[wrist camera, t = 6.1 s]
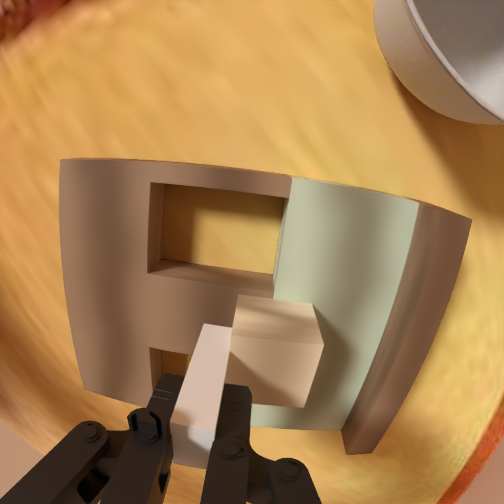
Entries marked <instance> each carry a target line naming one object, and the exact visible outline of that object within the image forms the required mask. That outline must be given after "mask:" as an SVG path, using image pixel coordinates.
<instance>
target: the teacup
mask: <svg viewBox="0 0 504 504" xmlns="http://www.w3.org/2000/svg"><path fill="white" fill-rule="evenodd" d="M374 27H375V32H376V37H377V41H378V43H379V46H380V49H381V51H382V53H383V55H384V57H385V60H386V61H387V63H388V64H389V66H390V68H391V69H392V71H393V72H394V74H395V75H396V76H397V78H398V79H399V80H400V82H401V83H402V84H403V85H404V86H405V87H406V88H407V89H408V90H409V91H410V92H411V93H412V94H413V95H414V96H415V97H416V98H417V99H419V100H420V101H421V102H422V103H424V104H425V105H426V106H428V107H429V108H431V109H433V110H434V111H436V112H438V113H440V114H442V115H444V116H446V117H449V118H452V119H455V120H458V121H462V122H467V123H474V124H487V125H504V0H375V5H374Z"/></svg>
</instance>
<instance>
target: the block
mask: <svg viewBox="0 0 504 504" xmlns="http://www.w3.org/2000/svg"><path fill="white" fill-rule="evenodd" d="M323 347H324V343H323V340H322V336H321V333H320V329H319V326H318V322H317V319H316V316H315V312H314V309H313V306H312V303H304V302H295V301H287V300H279V299H271V298H263V297H255V296H248V295H240V294H238V299H237V305H236V310H235V316H234V321H233V327H232V332H231V340H230V348H229V351H230V352H229V360H228V369H227V378H226V383H228V384H235V385H242V386H248V387H249V389H250V391H251V393H252V404H260V405H271V406H283V407H298V408H304V405H305V402H306V400H307V397H308V394H309V391H310V388H311V385H312V382H313V379H314V376H315V373H316V370H317V366H318V363H319V360H320V357H321V354H322V350H323Z"/></svg>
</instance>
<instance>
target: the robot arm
mask: <svg viewBox="0 0 504 504" xmlns="http://www.w3.org/2000/svg"><path fill="white" fill-rule="evenodd" d="M231 332H232V328H230V327H224V326H217V325H211V324H204V325H203V328H202V330H201V333H200V336H199V339H198V342H197V344H196V347H195V350H194V353H193V356H192V359H191V361H190V364H189V367H188V370H187V373H186V376H185V377H182V376H177V375H172V374H167V373H166V374H165V375H164V376H163V377H161V378H160V379H159V380H158V382H157V384H156V386H155V390H154V391H153V393H152V397H151V398H150V400H149V402H148V405H147V407H146V408H139V409H136V410H134V411H132V412H130V414H129V415H128V416H127V419H128V423H129V428H130V429H129V430H125V431H110V430H106V428H105V427H104V426H103V425H102V424H100V423H98V422H95V421H85V422H81V423H80V424H78V425H77V426H76V427H75V428H74V429H73V430H71V431H70V432H69V433H68V434H67V435H66V436H65V437H64V438H63V439H62V440H61V441H60V442H59V443H58V444H57V445H56V446H55V447H54V448H53V449H52V450H51V451H50V452H49V453H48V454H47V455H46V456H45V457H44V458H43V459H41V460H40V461H39V462H38V463H37V464H36V465H35V466H34V467H33V468H32V469H31V470H30V471H29V472H28V473H27V474H26V475H25V476H24V477H23V478H22V479H21V480H20V481H19V482H18V483H16V485H15V486H14V487H12V488H11V489H10V490H9V491H8V492H7V493H6V494H5V495H4V496H3V497H2V498H1V499H0V504H98V502H99V501H100V500H101V501H100V504H163V501H164V497H165V493H166V490H167V486H168V482H169V479H170V475H171V469H170V466H171V463H172V459H173V463H176V464H180V465H185V466H190V467H196V468H201V469H207V470H206V476H205V481H204V486H203V492H202V497H201V502H200V504H246V501H247V502H249V503H252V504H322V503H321V501H320V498H319V496H318V494H317V491H316V489H315V486H314V484H313V481H312V479H311V476H310V474H309V471H308V469H307V468H306V466H305V465H304V464H303V463H302V462H300V461H299V460H296V459H293V458H282V459H278V460H276V461H273V460H270V459H267V458H264V457H262V456H260V455H258V454H257V453H256V452H255V451H254V450H253V449H252V448H251V445H250V441H249V438H250V423H251V408H252V393H251V391H250V389H249V387H248V386H242V385H235V384H228V383H226V378H227V369H228V360H229V352H230V351H229V348H230V340H231Z"/></svg>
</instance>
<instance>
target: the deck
mask: <svg viewBox="0 0 504 504" xmlns="http://www.w3.org/2000/svg"><path fill="white" fill-rule="evenodd" d="M165 183H166V184H177V185H187V186H197V187H206V188H215V189H223V190H232V191H240V192H248V193H255V194H263V195H270V196H277V197H284V198H285V202H284V209H283V215H282V222H281V228H280V235H279V241H278V248H277V254H276V260H275V266H274V272H273V275H272V274H265V273H257V272H250V271H242V270H235V269H228V268H220V267H213V266H206V265H199V264H192V263H185V262H178V261H171V260H165V259H161V241H162V221H163V205H164V191H165ZM59 222H60V244H61V258H62V269H63V279H64V288H65V295H66V303H67V309H68V316H69V322H70V327H71V333H72V338H73V343H74V348H75V353H76V357H77V361H78V366H79V370H80V374H81V378H82V382H83V385H84V389H85V390H88V391H91V392H94V393H97V394H100V395H103V396H106V397H109V398H113V399H116V400H120V401H123V402H127V403H130V404H134V405H138V406H142V407H147V405H148V402H149V400H150V398H151V397H152V393H153V391H154V390H155V386H156V384H157V382H158V380H159V379H160V378H161V377H162V361H161V350H166V351H171V352H177V353H182V354H188V355H193V353H194V350H195V347H196V344H197V342H198V339H199V336H200V333H201V330H202V328H203V325H204V324H211V325H217V326H224V327H230V328H232V327H233V321H234V316H235V310H236V305H237V299H238V294H240V295H248V296H255V297H263V298H271V299H279V300H287V301H295V302H304V303H312V306H313V309H314V312H315V316H316V319H317V322H318V326H319V329H320V333H321V336H322V340H323V343H324V347H323V350H322V354H321V357H320V360H319V363H318V366H317V370H316V373H315V376H314V379H313V382H312V385H311V388H310V391H309V394H308V397H307V400H306V402H305V405H304V408H298V407H283V406H271V405H260V404H252V408H251V423H250V426H256V427H267V428H280V429H298V430H341V432H342V437H343V441H344V446H345V450H346V455H353V454H368V453H372V452H373V450H374V449H375V447H376V446H377V444H378V443H379V441H380V440H381V438H382V437H383V435H384V433H385V432H386V430H387V429H388V427H389V425H390V424H391V422H392V420H393V419H394V417H395V415H396V414H397V412H398V410H399V408H400V407H401V405H402V403H403V401H404V399H405V398H406V396H407V394H408V392H409V390H410V388H411V386H412V384H413V382H414V380H415V378H416V376H417V374H418V372H419V370H420V368H421V366H422V364H423V362H424V360H425V358H426V356H427V353H428V351H429V349H430V347H431V344H432V342H433V340H434V337H435V335H436V333H437V330H438V328H439V325H440V323H441V320H442V318H443V315H444V312H445V310H446V307H447V304H448V302H449V299H450V296H451V293H452V290H453V287H454V284H455V281H456V278H457V275H458V271H459V268H460V265H461V261H462V258H463V254H464V251H465V247H466V243H467V239H468V235H469V231H470V227H471V223H472V219H470V218H467V217H465V216H462V215H459V214H457V213H454V212H452V211H449V210H446V209H444V208H441V207H438V206H435V205H433V204H430V203H427V202H423V201H419V200H415V199H411V198H406V197H402V196H398V195H393V194H389V193H384V192H379V191H375V190H370V189H365V188H360V187H355V186H350V185H345V184H339V183H334V182H328V181H322V180H317V179H311V178H305V177H298V176H292V175H285V174H278V173H271V172H264V171H257V170H249V169H241V168H232V167H223V166H214V165H204V164H193V163H182V162H169V161H154V160H137V159H115V158H73V159H62V160H60V179H59Z"/></svg>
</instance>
